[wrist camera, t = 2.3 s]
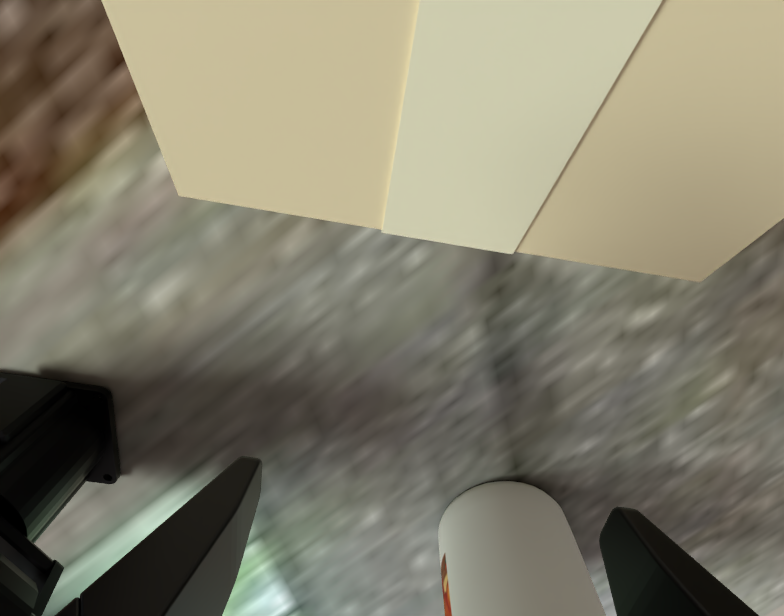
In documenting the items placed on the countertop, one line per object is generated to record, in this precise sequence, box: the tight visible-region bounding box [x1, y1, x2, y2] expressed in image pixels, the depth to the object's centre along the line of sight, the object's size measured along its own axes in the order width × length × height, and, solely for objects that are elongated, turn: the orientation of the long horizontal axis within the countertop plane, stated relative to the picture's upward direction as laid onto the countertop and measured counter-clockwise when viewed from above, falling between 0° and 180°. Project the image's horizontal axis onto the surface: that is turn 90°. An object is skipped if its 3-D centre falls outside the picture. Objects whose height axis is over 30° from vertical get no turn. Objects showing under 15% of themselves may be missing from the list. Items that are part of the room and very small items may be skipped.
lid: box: [102, 0, 784, 282], centre depth 8 cm, size 12×16×1 cm
